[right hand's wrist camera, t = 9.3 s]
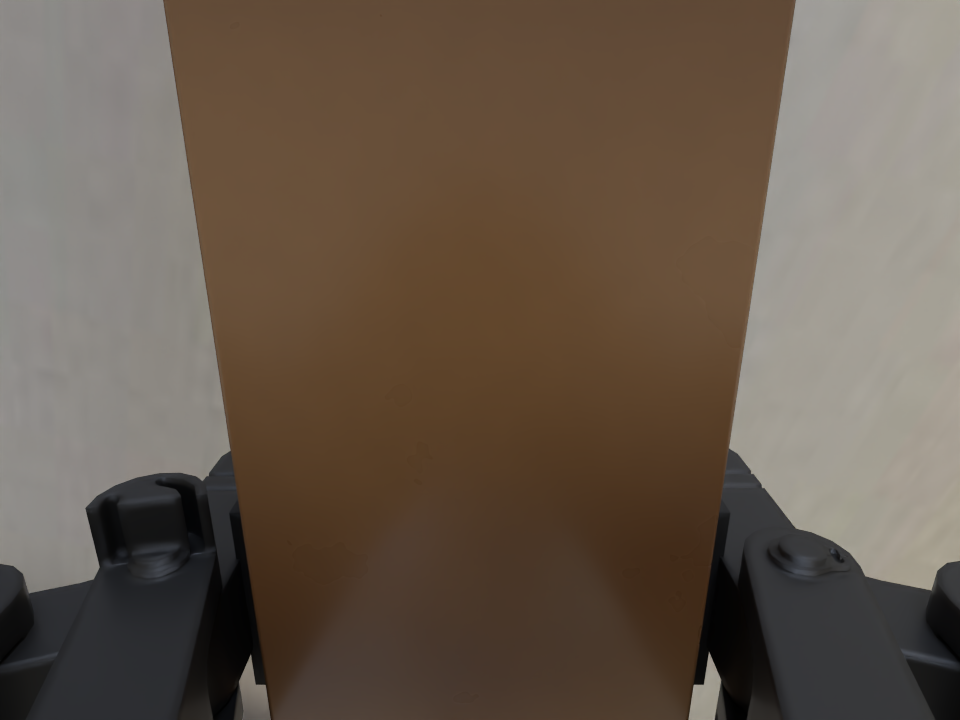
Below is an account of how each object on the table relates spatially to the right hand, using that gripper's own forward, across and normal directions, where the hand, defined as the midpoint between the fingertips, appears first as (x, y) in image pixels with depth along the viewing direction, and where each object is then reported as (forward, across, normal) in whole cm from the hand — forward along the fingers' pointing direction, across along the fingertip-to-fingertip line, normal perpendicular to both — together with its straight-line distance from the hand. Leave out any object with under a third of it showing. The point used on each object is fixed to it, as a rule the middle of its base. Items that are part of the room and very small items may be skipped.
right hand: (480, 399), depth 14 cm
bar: (+1, 0, -7) cm, 7 cm away
